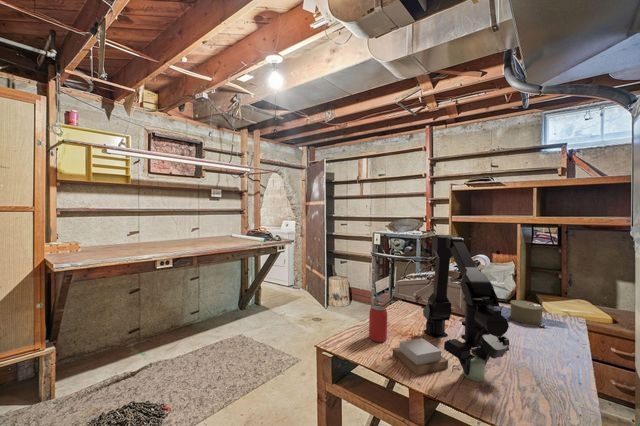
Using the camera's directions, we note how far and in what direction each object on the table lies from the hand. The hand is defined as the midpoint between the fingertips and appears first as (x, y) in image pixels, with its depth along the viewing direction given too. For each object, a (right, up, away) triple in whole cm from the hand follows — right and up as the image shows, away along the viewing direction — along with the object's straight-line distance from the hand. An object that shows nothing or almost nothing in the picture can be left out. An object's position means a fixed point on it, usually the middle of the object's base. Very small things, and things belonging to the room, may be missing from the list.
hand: (473, 372), depth 87 cm
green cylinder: (0, -1, 0) cm, 1 cm away
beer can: (-24, 0, +23) cm, 33 cm away
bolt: (+12, -1, +15) cm, 19 cm away
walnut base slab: (-14, -1, +8) cm, 16 cm away
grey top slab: (-14, +2, +7) cm, 15 cm away
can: (+47, -1, +45) cm, 65 cm away
